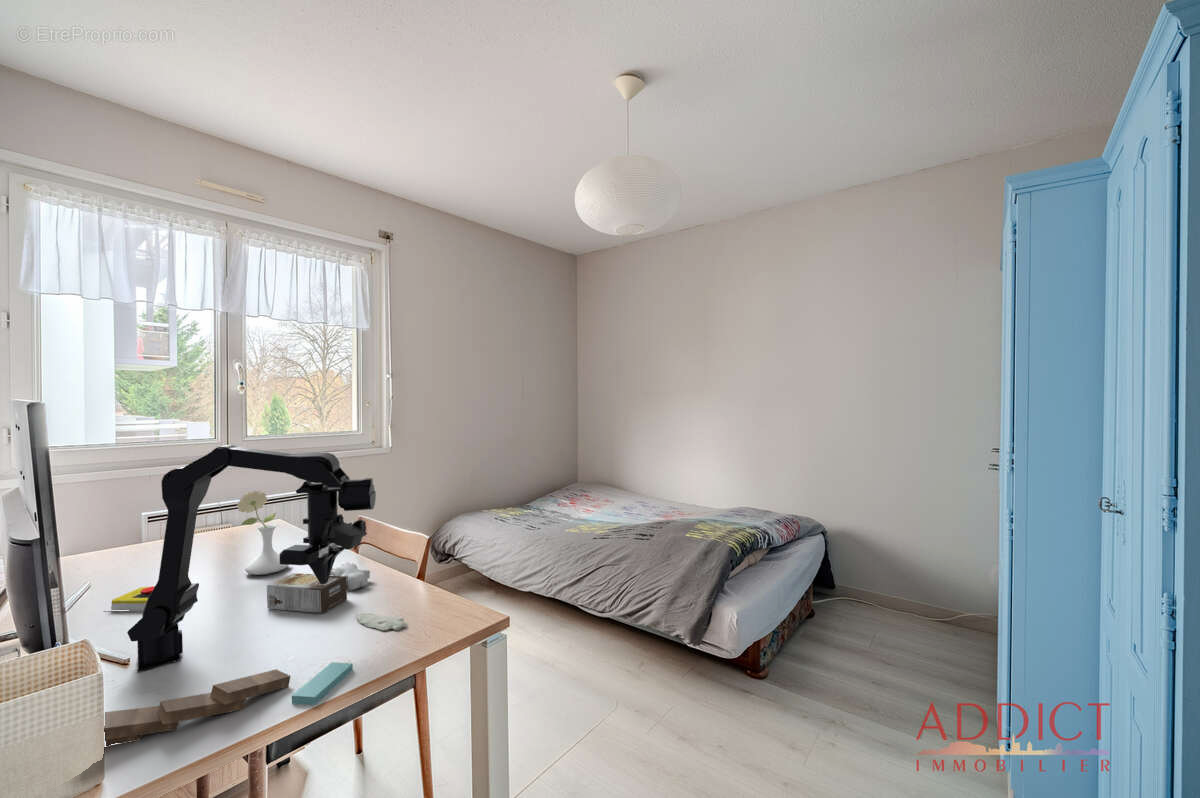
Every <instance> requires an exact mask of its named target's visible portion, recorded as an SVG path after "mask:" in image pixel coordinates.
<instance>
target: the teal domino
mask: <svg viewBox="0 0 1200 798" xmlns="http://www.w3.org/2000/svg"><path fill="white" fill-rule="evenodd" d="M352 671H354V666H353V662H351V663H350V662H333V661H331V662H330V663H329V664H328V665H326V666H325V667H324V668H323V669H322V670H321V671H320V672H318V673H317V674H315V675H314V676H313V677H312V678H311V679H309V681H308V682H307V683H305V684H304V685H303V686H301V687H300V688H299V689H298V690H297V691H295V692H294V693H293V694H292V695H291V704H297V705H298V704H299V705H310V706H311V705H312V706H315V705H316V704H318V703H319V702H320V701H321V700H322V699H323V698H324V697H325V696H326V695H328V694H329V693H330V692H331V691H332V690H333V689H335V687H336V686H337V685H339V683H341V682H342V681H343V680H344V679H345V678H346V677H347V676H349V675H350V673H352Z"/></svg>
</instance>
